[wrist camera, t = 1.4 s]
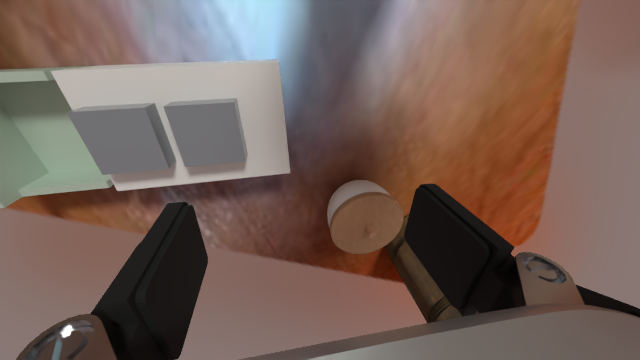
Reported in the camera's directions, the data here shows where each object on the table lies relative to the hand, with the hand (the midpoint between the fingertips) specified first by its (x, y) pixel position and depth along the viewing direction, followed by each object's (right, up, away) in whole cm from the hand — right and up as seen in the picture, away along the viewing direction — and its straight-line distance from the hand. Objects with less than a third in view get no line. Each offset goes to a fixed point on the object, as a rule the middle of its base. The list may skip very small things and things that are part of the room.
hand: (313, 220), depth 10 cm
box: (-29, +8, +17) cm, 34 cm away
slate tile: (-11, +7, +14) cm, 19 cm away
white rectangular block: (-14, +10, +19) cm, 25 cm away
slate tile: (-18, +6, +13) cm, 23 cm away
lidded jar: (+6, -1, +29) cm, 30 cm away
